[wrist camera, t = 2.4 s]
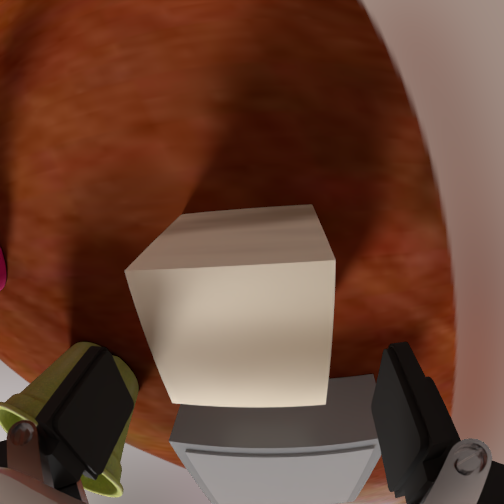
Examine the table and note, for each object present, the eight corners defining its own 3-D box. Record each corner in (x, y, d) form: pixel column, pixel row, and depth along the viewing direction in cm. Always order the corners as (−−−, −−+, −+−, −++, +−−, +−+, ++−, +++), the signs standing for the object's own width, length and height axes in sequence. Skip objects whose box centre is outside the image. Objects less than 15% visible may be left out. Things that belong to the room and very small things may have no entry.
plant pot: (35, 327, 18) (-26, 398, 10) (115, 310, 16) (39, 417, 8) (96, 408, 22) (60, 480, 14) (182, 409, 20) (152, 508, 12)
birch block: (182, 213, 14) (124, 270, 8) (311, 203, 13) (335, 260, 8) (202, 319, 16) (172, 403, 11) (313, 315, 15) (325, 404, 10)
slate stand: (188, 380, 18) (167, 443, 13) (373, 373, 17) (391, 439, 12) (219, 460, 23) (211, 505, 18) (349, 456, 21) (354, 503, 17)
